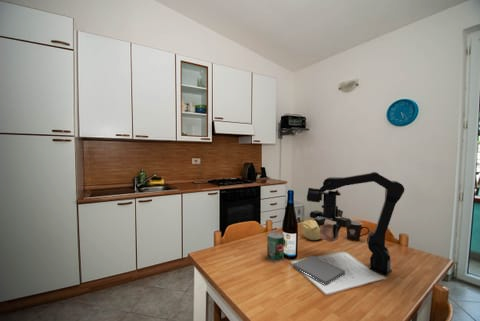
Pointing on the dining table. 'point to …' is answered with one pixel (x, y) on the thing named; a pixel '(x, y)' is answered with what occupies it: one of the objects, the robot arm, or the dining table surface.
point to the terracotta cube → (327, 233)
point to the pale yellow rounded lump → (311, 230)
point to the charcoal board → (319, 269)
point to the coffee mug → (355, 231)
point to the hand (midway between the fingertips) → (328, 235)
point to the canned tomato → (275, 246)
